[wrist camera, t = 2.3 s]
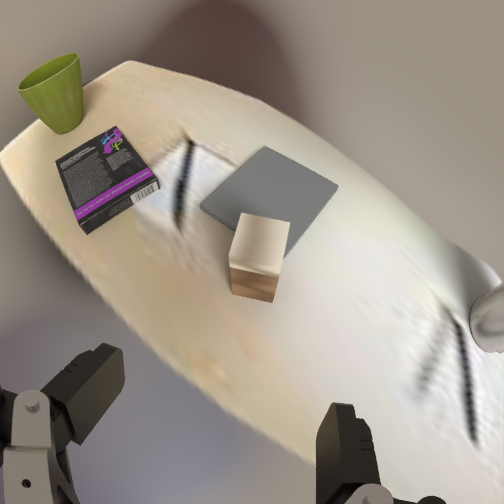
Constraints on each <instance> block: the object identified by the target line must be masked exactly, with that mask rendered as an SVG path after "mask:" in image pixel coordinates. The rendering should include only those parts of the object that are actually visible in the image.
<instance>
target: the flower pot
mask: <svg viewBox="0 0 504 504" xmlns="http://www.w3.org/2000/svg"><path fill="white" fill-rule="evenodd" d="M17 89H18V91H19V93H20V94H21V96H22V97H23V99H24V100H25V102H26V103H27V104H28V106H29V107H30V108H31V109H32V110H33V112H34V113H35V114H36V115H37V116H38V117H39V118H40V119H41V120H42V121H43V122H44V123H45V124H46V125H47V126H48V127H49V128H51V129H52V130H53V131H54V132H56V133H57V134H64V133H67V132H69V131H71V130H73V129H74V128H75V127H77V126H78V125H79V124H80V122H81V121H82V118H83V90H82V77H81V68H80V62H79V55H78V54H77V53H69V54H65V55H62V56H59V57H57V58H54V59H52V60H50V61H48V62H46V63H44V64H43V65H41V66H39V67H38V68H36V69H35V70H34V71H32V72H31V73H30V74H28V75H27V76H26V77H25V78H24V79H23V80H22V81H21V82H20V83H19V85H18V88H17Z"/></svg>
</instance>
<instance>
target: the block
mask: <svg viewBox="0 0 504 504" xmlns="http://www.w3.org/2000/svg"><path fill="white" fill-rule="evenodd" d="M289 227H290V222H285V221H281V220H276V219H271V218H266V217H261V216H256V215H251V214H246V213H241V216H240V219H239V222H238V225H237V229H236V232H235V235H234V238H233V242H232V245H231V248H230V251H229V255H228V256H229V266H230V276H231V286H232V294H235V295H239V296H243V297H248V298H252V299H257V300H261V301H266V302H271V303H272V302H273V298H274V294H275V290H276V287H277V283H278V279H279V275H280V271H281V267H282V262H283V257H284V252H285V247H286V242H287V237H288V232H289Z"/></svg>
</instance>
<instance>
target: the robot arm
mask: <svg viewBox="0 0 504 504" xmlns="http://www.w3.org/2000/svg"><path fill="white" fill-rule="evenodd" d="M470 326H471V331H472V335H473V337H474V340H475V341H476V343H477V344H478V346H479V347H480V348H481V349H482V350H484V351H486V352H495V351H497V352H499V353H502V352H504V282H503V283H501V284H500V285H498V286H497V287H495V288H494V289H492V290H491V291H489V292H488V293H487V294H485V295H484V296H482V297H481V298H479V299H478V300H477V301H475V303H474V304H473V306H472V309H471V313H470ZM124 381H125V376H124V364H123V353H122V350H121V349H119V348H117V347H114V346H111V345H109V344H106V343H102V344H101V345H100V346H99V347H98V348H97V349H95V350H94V351H91V350H89V351H86V352H84V353H81V354H79V355H78V356H77V357H75V358H74V359H73V360H72V361H71V363H70V364H68V365H67V366H66V367H65V368H64V370H61V371H60V372H59V373H58V374H57V375H56V376H55V377H54V378H53V379H52V380H51V381H50V382H49V383H48V384H47V385H46V386H45V387H44V388H43V389H41V390H40V391H37V390H26V391H23V392H21V393H20V394H19V395H18V394H15V393H12V392H9V391H6V390H3V389H2V388H1V386H0V467H1V466H2V465H3V467H4V494H5V504H80V502H79V499H78V496H77V494H76V491H75V489H74V484H73V479H72V473H71V467H70V461H69V453H68V448H67V445H68V444H69V442H70V441H71V440H72V441H73V442H75V443H77V444H79V445H81V444H82V443H83V442H84V440H85V439H86V437H87V436H88V435H89V433H90V432H91V431H92V429H93V428H94V427H95V425H96V424H97V423H98V421H99V420H100V419H101V417H102V416H103V415H104V413H105V412H106V410H107V409H108V408H109V407H110V405H111V404H112V403H113V401H114V400H115V399H116V397H117V396H118V395H119V393H120V392H121V390H122V388H123V386H124ZM316 504H446V502H445V501H444V500H442V499H441V498H439V497H436V496H427V497H424V498H422V499H421V500H420V501H419V502H417V503H414V502H409V501H404V500H399V499H395V498H393V497H392V495H391V493H390V492H389V490H387V489H386V488H385V487H383V486H382V485H381V482H380V477H379V471H378V465H377V460H376V455H375V451H374V444H373V442H372V435H371V430H370V428H369V426H368V425H367V424H366V422H365V421H364V419H360V418H356V416H355V410H354V406H353V405H352V404H344V403H335V402H333V403H332V404H331V405H330V407H329V409H328V412H327V414H326V416H325V418H324V420H323V421H322V423H321V425H320V427H319V430H318V433H317V437H316Z"/></svg>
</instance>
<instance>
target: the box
mask: <svg viewBox="0 0 504 504" xmlns="http://www.w3.org/2000/svg"><path fill="white" fill-rule="evenodd" d="M55 162H56V165H57V168H58V171H59V174H60V177H61V180H62V182H63V185H64V188H65V191H66V193H67V196H68V199H69V201H70V204H71V206H72V209H73V211H74V214H75V216H76V219H77V221H78V224H79V226H80V227H81V228H82V229H83V231H84V232H85V233H86V234H87V235H88V234H89V233H91V232H92V231H94V230H95V229H97V228H98V227H100V226H101V225H103V224H104V223H106V222H107V221H109V220H110V219H112V218H113V217H115V216H116V215H118V214H120V213H121V212H123V211H124V210H126V209H127V208H129V207H131V206H132V205H134V204H135V203H137V202H139V201H140V200H142V199H144V198H145V197H147V196H149V195H150V194H152V193H154V192H156V191H157V190H159V189H160V186H159V182H158V178H157V177H156V176H155V175H154V174H153V172H152V171H151V170H150V169H149V168H148V166H147V165H146V164H145V162H144V161H143V160H142V159H141V157H140V156H139V155H138V154H137V152H136V151H135V150H134V149H133V147H132V146H131V145H130V143H129V142H128V141H127V140H126V138H125V137H124V136H123V134H122V133H121V132H120V130H119V129H118V128H117V126H114V127H113V128H111V129H109V130H108V131H106V132H104V133H102V134H100V135H98V136H96V137H94V138H93V139H91V140H89V141H87V142H86V143H84V144H82V145H81V146H79V147H78V148H76V149H74V150H73V151H71V152H69V153H68V154H66V155H65V156H63V157H61V158H60V159H58V160H56V161H55Z"/></svg>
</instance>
